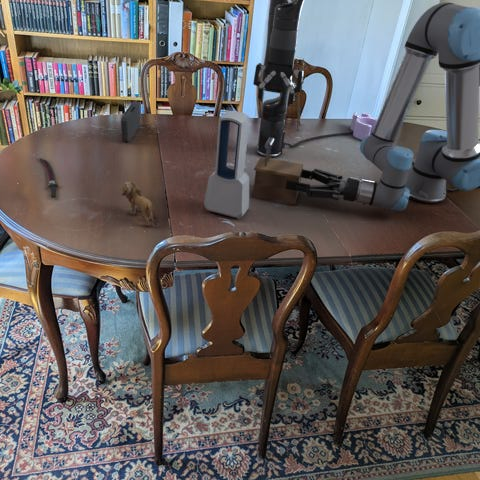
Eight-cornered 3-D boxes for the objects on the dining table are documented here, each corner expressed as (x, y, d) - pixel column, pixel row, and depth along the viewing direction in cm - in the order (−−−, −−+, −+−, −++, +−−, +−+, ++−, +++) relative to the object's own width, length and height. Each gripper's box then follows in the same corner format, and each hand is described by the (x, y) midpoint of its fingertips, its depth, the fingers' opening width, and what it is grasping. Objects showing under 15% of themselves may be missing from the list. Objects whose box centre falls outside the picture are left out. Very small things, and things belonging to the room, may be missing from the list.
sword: (61, 197, 141) (61, 193, 140) (50, 198, 139) (50, 194, 139) (49, 160, 164) (48, 156, 163) (39, 160, 163) (39, 157, 162)
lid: (254, 170, 148) (257, 143, 143) (260, 158, 156) (263, 133, 151) (299, 178, 146) (303, 152, 141) (303, 166, 154) (307, 141, 149)
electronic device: (248, 210, 145) (259, 115, 129) (241, 221, 139) (251, 123, 123) (211, 201, 148) (218, 107, 132) (202, 211, 142) (207, 114, 125)
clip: (343, 126, 223) (346, 112, 219) (367, 127, 225) (371, 113, 221) (360, 142, 206) (364, 127, 202) (386, 142, 209) (390, 127, 205)
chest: (252, 197, 153) (255, 170, 148) (258, 184, 161) (262, 159, 156) (294, 205, 151) (299, 178, 146) (298, 192, 159) (303, 166, 154)
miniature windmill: (298, 130, 211) (309, 61, 195) (279, 127, 212) (289, 59, 196) (300, 124, 219) (311, 57, 203) (282, 121, 220) (292, 55, 204)
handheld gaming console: (134, 123, 200) (133, 100, 195) (140, 124, 200) (140, 100, 195) (121, 142, 181) (119, 117, 175) (128, 143, 181) (127, 118, 175)
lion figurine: (118, 210, 138) (116, 182, 133) (132, 204, 141) (131, 177, 137) (151, 229, 130) (150, 201, 126) (165, 223, 134) (165, 195, 129)
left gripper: (255, 44, 130) (249, 102, 138) (306, 51, 127) (296, 110, 136) (261, 40, 136) (255, 96, 145) (309, 47, 134) (300, 103, 142)
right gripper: (353, 217, 141) (281, 203, 144) (356, 186, 160) (292, 174, 163) (359, 195, 137) (284, 181, 140) (361, 166, 155) (295, 154, 159)
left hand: (275, 102), depth 140 cm, fingers open, 8 cm apart
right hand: (288, 177), depth 152 cm, fingers closed on chest, 10 cm apart
